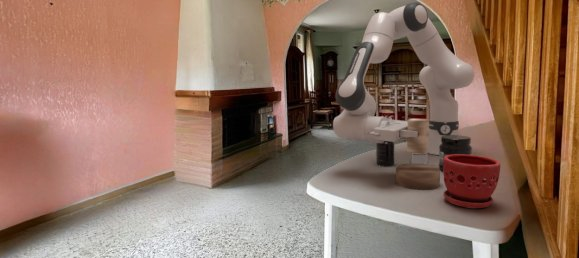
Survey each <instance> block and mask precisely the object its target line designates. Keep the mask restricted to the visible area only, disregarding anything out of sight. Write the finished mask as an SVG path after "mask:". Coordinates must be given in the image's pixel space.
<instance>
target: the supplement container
mask: <svg viewBox="0 0 579 258" xmlns="http://www.w3.org/2000/svg"><path fill="white" fill-rule="evenodd" d="M441 142H442V143H441V144H440V146H439V149H440V150H439V155H438V168H439V169H440V171H443V160H444V157H445V156H447V155H454V154H464V155H473V154H472V151H473V146H472V145H471V144H472V138H471V137H470V136H468V135H467V136H466V135H462V136H461V135H445V136H442V137H441ZM451 174H452V171H451Z"/></svg>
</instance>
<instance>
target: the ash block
mask: <svg viewBox="0 0 579 258" xmlns="http://www.w3.org/2000/svg"><path fill="white" fill-rule="evenodd" d="M429 120H430V118H429V119H427V118H411V119H407V122H408V131H418V132H419V136H418V137H406V138H407V139H406V152H407V153H410V152H412V153H421V154H424V153H426V152H427V151H428V138H429Z"/></svg>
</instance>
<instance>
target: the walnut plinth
mask: <svg viewBox="0 0 579 258" xmlns="http://www.w3.org/2000/svg"><path fill="white" fill-rule="evenodd" d="M440 182H441V169H440V168H439V166H438V167H437V166H435V165H430V164H427V165H426V164H410V163H403V164H399V165H397V166H396V167H395V184H396V185H398V186H399V187H402V188H406V189H409V190H416V189H417V190H418V191H419V190H420V191H425V190H427V191H429V190H434V189H437V188H438V189H439V188H440V186H441V185H440V184H441V183H440Z"/></svg>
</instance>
